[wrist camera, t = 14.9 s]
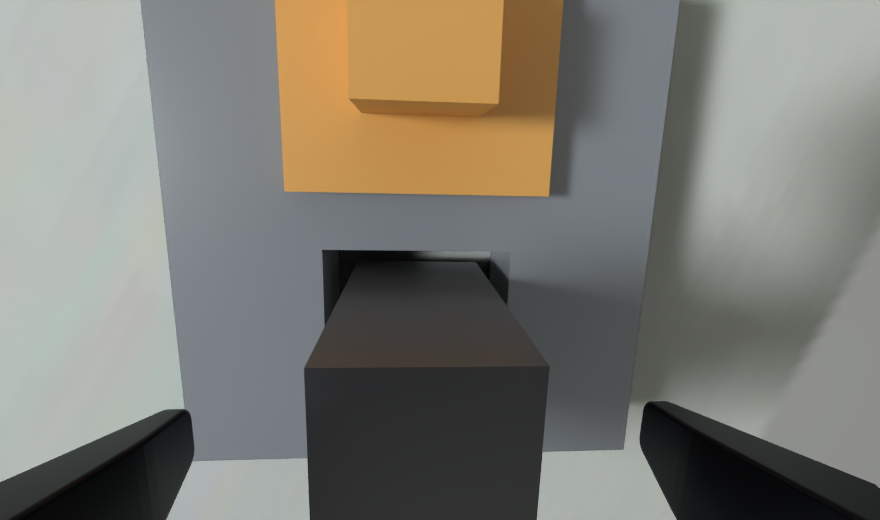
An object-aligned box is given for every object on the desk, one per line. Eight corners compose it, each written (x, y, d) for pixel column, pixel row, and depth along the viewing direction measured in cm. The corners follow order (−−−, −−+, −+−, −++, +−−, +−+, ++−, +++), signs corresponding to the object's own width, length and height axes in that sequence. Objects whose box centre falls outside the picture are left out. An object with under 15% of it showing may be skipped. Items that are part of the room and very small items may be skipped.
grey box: (471, 256, 16) (549, 365, 7) (467, 357, 17) (532, 566, 8) (361, 254, 16) (304, 368, 7) (362, 358, 17) (312, 575, 8)
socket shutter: (539, 194, 13) (585, 204, 9) (292, 189, 12) (250, 199, 9) (559, -82, 11) (620, -181, 8) (278, -102, 11) (224, -217, 7)
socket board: (587, 402, 18) (623, 449, 15) (228, 408, 17) (190, 461, 14) (630, -9, 15) (686, -53, 12) (191, -35, 13) (130, -90, 11)
